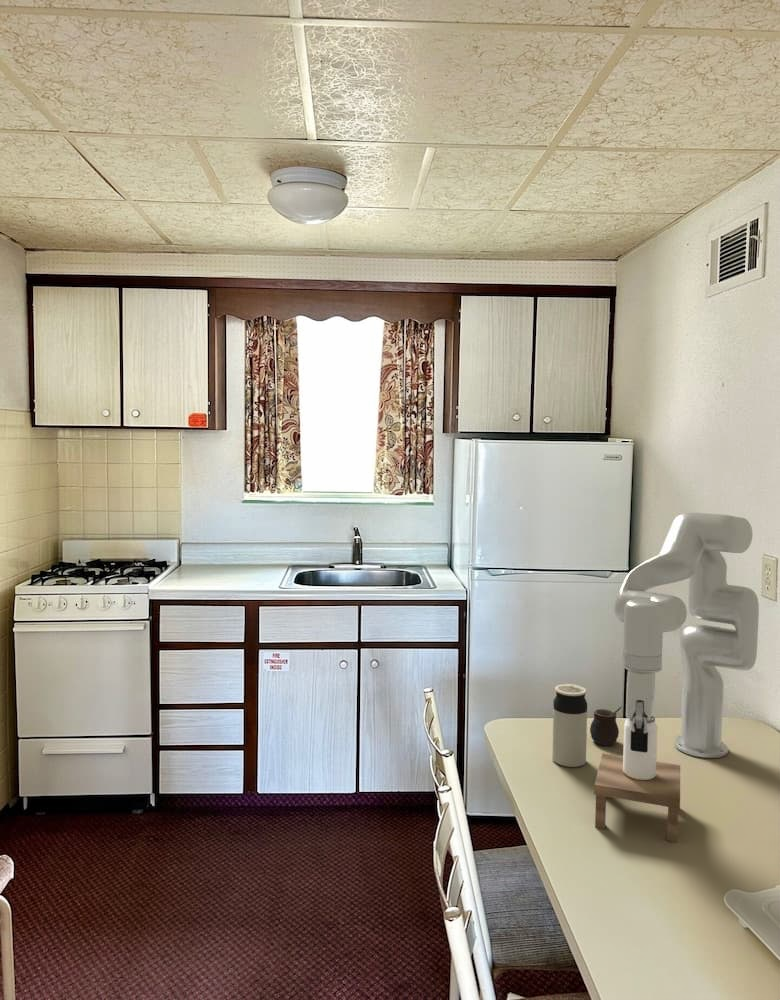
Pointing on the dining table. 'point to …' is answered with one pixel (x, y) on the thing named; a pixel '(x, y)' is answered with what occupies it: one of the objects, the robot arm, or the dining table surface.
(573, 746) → the travel mug
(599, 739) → the mate gourd
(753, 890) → the dining table surface
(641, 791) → the small wooden table
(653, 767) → the can
